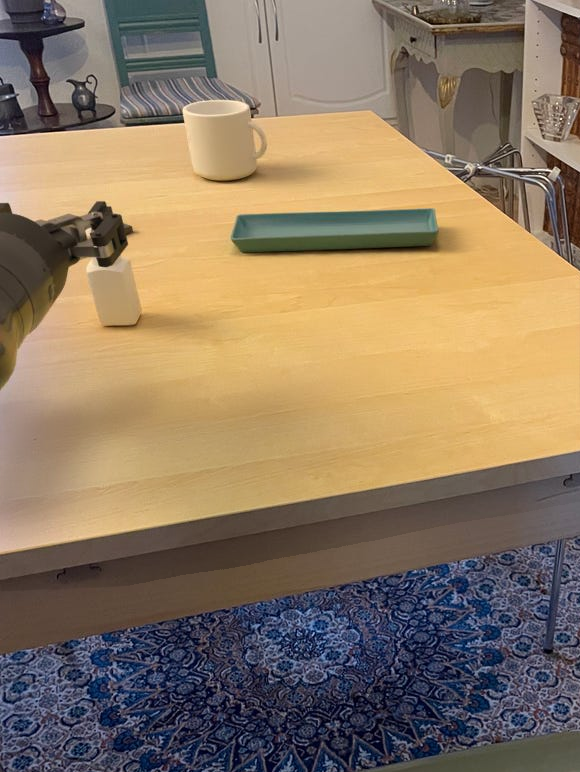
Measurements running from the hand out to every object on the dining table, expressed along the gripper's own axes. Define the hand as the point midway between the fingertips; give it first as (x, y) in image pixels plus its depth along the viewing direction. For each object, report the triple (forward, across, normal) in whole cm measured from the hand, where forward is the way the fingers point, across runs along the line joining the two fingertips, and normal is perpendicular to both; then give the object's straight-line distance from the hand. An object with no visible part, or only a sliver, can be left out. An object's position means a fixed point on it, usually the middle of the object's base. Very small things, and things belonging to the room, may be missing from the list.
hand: (56, 213), depth 85 cm
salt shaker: (+11, 0, +15) cm, 19 cm away
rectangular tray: (+35, -23, +15) cm, 44 cm away
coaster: (+39, +9, +14) cm, 43 cm away
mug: (+65, -6, +15) cm, 67 cm away
